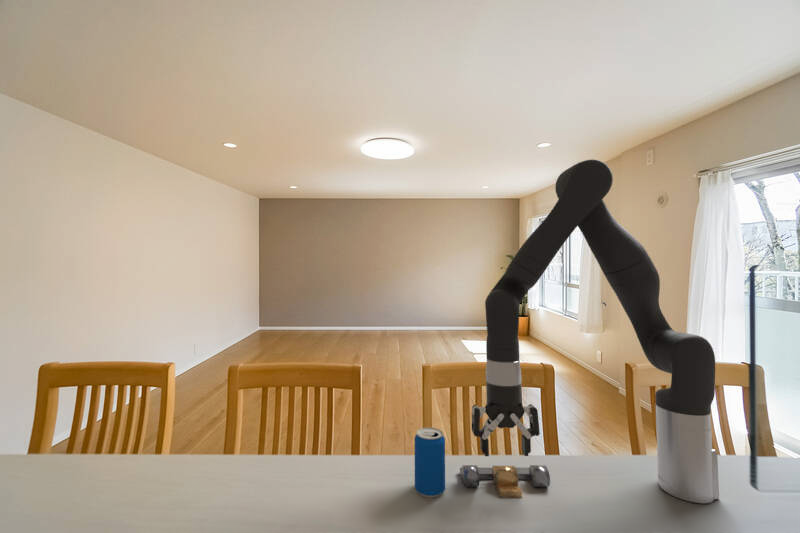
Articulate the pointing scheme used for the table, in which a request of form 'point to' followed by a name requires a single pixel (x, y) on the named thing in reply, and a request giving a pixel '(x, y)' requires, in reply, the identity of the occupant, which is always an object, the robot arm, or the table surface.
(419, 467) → the beverage can
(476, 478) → the grey metal dumbbell
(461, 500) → the table surface
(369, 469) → the table surface
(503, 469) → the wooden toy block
